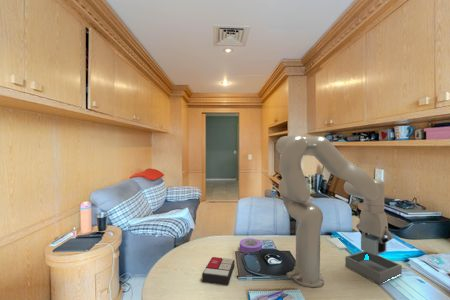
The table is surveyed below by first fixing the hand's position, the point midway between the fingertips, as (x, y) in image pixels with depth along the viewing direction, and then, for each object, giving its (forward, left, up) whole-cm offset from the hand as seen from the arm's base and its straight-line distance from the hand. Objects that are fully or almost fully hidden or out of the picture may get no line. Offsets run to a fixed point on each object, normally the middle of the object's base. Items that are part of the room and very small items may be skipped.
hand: (373, 248), depth 99 cm
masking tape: (-38, +40, -11) cm, 56 cm away
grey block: (0, 0, -1) cm, 1 cm away
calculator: (-62, +27, -11) cm, 69 cm away
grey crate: (0, 0, -10) cm, 10 cm away
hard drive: (+10, +24, -11) cm, 28 cm away
